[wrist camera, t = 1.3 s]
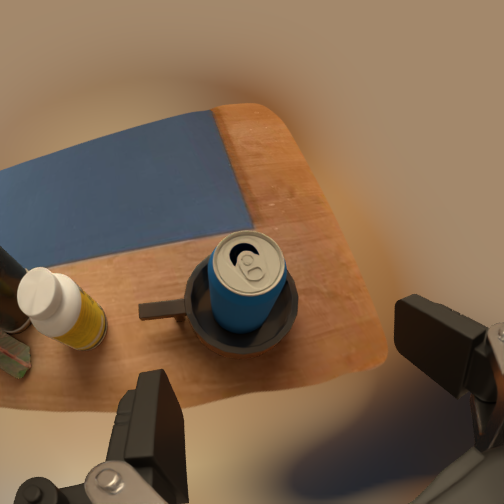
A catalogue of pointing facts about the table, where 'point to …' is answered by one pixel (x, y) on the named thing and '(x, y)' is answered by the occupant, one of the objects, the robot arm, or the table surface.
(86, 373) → the table surface
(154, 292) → the table surface
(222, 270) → the beverage can
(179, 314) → the pan handle
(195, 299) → the pan
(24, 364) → the map
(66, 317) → the pill bottle
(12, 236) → the table surface
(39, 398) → the table surface
